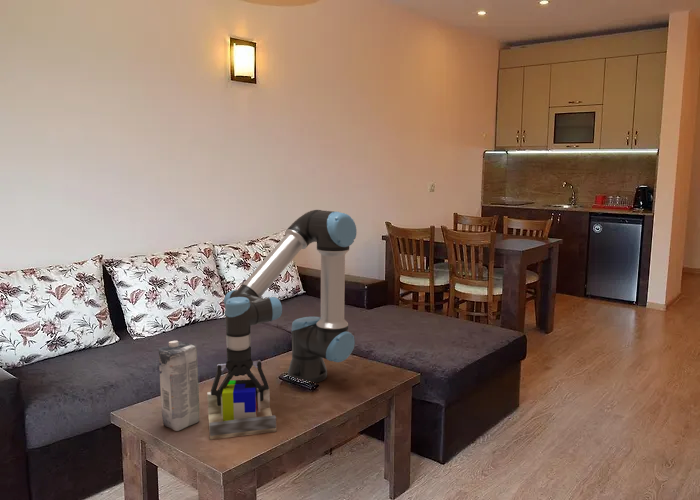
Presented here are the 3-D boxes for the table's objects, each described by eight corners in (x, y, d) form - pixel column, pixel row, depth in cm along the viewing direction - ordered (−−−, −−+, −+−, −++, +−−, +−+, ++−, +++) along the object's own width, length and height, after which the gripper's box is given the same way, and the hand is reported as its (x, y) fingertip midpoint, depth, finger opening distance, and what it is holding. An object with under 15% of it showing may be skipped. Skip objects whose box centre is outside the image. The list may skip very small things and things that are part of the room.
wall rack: (269, 408, 197) (268, 386, 196) (276, 431, 181) (275, 407, 180) (208, 415, 192) (207, 392, 191) (210, 439, 176) (209, 414, 175)
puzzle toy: (255, 422, 183) (254, 391, 181) (223, 423, 182) (222, 393, 180) (257, 408, 192) (256, 379, 191) (226, 409, 191) (225, 380, 190)
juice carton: (203, 421, 188) (200, 341, 183) (176, 434, 179) (171, 350, 175) (186, 414, 193) (182, 335, 188) (158, 425, 185) (154, 344, 180)
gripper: (273, 339, 190) (275, 403, 194) (200, 345, 184) (203, 411, 188) (277, 347, 183) (278, 413, 187) (200, 353, 177) (203, 421, 181)
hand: (240, 412), depth 187 cm, fingers open, 11 cm apart
